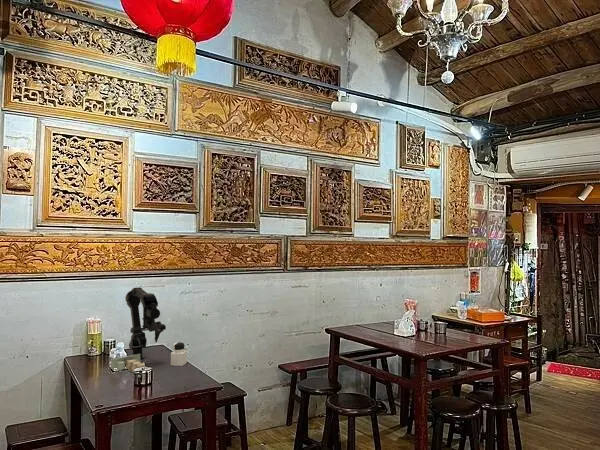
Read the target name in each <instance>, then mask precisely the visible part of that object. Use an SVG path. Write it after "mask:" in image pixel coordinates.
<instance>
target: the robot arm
mask: <svg viewBox="0 0 600 450" xmlns="http://www.w3.org/2000/svg"><path fill="white" fill-rule="evenodd" d="M125 302H126V305H127V307H128V308H130V316H131V323H132V327H130V334H131V336H130V341H129V343H128V348H129V349H130V350H132V351H131V353H132V355H136V354H141V355H140V360H141V359H145V358H146V357H145V356H143V348H146V347H147V341H148V340H147V337H146V331H148V332H150V333H151V332H154V342H155V343H158V340H159V337H160V334H161V333H162V332H164V331H165V330H166V328H167V326H166V325H165V324H164V323H162V322H161V321H156V319H158V318H159V317H160V315H161V311H160V309H158V307H159V302H158V299H157V297H156V295H155V294H154V293H149V292H147V291H145V290H144V289H143V288H142V287H133V288H132V289H131V290H130V291H128V292H127V293H126V295H125ZM140 304H141V305H142V308H143V309H142V312H143V313H142V316H143V317H142V318H141V316H140V309H139V306H140ZM141 319H142V321H143V322H142V325H141ZM144 331H145V332H144Z"/></svg>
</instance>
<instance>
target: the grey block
mask: <svg viewBox="0 0 600 450" xmlns="http://www.w3.org/2000/svg"><path fill="white" fill-rule="evenodd" d="M140 355H141V354H136V355H127V356H125V355H124V356H121V357H116V358H111V359H110V370H111V369H112V371H114V370H113V369H114V368H117V369H119V370H120V371H123V370H122V369H125V362H124V359H125V358H133V359H134V360H136V361H138V362H141V359H140ZM117 369H116V370H117ZM119 370H118V371H119ZM125 370H126V369H125Z"/></svg>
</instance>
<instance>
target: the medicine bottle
mask: <svg viewBox="0 0 600 450" xmlns="http://www.w3.org/2000/svg"><path fill="white" fill-rule="evenodd" d="M172 347H173V349H172V352H170V366H172V367H173V366H175V367H183V366H184V365H186V364H187V363H188V351H187V349H186V350H185V343H184V342H175V343H173V346H172Z"/></svg>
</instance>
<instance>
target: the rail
mask: <svg viewBox="0 0 600 450" xmlns="http://www.w3.org/2000/svg"><path fill="white" fill-rule="evenodd" d="M124 362H125V367H126V369H125V370H127V369H128V370H127V371H129V372H131V373H133V372H134V369H136V368H140V367H145V368H146V364H145V363H143V362H141V361H140V362H138V361H136V360H134V359H133V358H125V359H124Z"/></svg>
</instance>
